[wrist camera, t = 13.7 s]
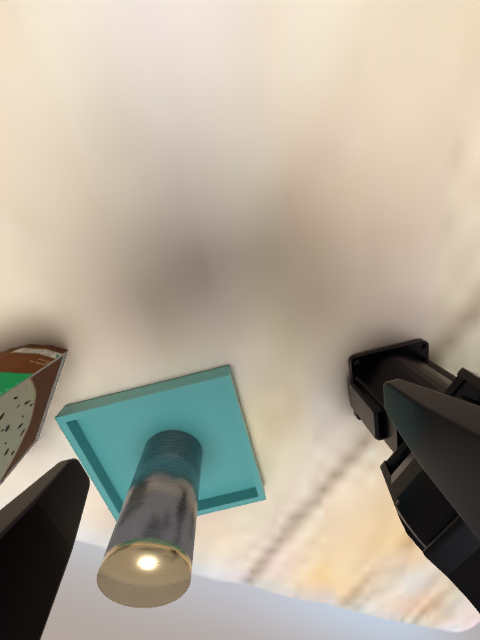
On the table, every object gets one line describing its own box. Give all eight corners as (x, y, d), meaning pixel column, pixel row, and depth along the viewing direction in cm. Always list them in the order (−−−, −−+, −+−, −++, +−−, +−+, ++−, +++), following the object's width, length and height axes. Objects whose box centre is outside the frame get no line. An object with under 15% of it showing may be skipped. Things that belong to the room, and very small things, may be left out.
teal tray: (229, 365, 21) (229, 375, 20) (263, 484, 26) (266, 499, 25) (65, 405, 22) (54, 418, 20) (128, 516, 26) (123, 533, 25)
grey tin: (212, 441, 23) (205, 563, 15) (188, 482, 25) (169, 615, 16) (156, 421, 22) (115, 540, 14) (135, 465, 24) (84, 597, 15)
